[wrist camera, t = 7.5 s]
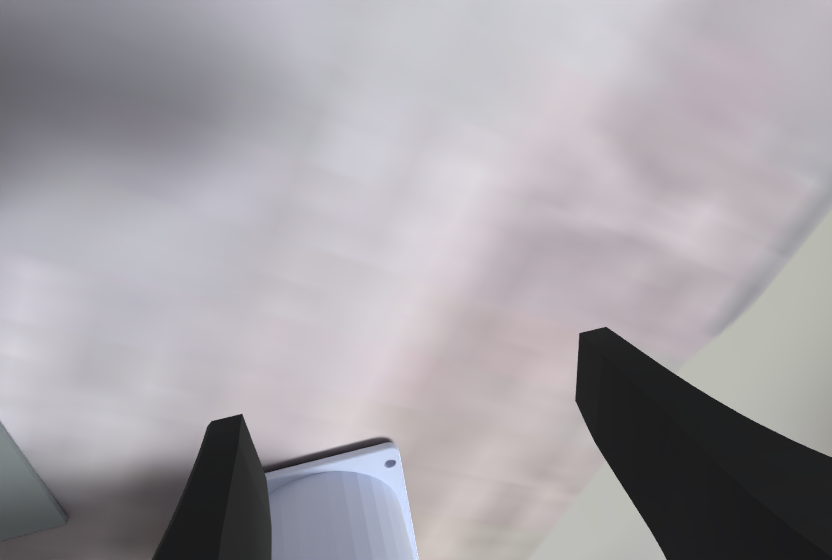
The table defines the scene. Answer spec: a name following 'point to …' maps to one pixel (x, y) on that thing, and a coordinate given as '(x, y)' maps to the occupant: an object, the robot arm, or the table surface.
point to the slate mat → (23, 495)
